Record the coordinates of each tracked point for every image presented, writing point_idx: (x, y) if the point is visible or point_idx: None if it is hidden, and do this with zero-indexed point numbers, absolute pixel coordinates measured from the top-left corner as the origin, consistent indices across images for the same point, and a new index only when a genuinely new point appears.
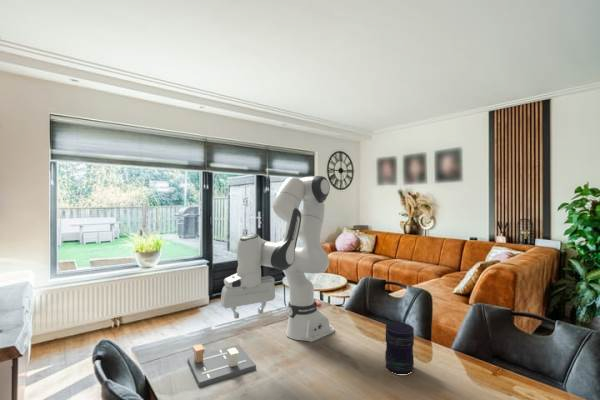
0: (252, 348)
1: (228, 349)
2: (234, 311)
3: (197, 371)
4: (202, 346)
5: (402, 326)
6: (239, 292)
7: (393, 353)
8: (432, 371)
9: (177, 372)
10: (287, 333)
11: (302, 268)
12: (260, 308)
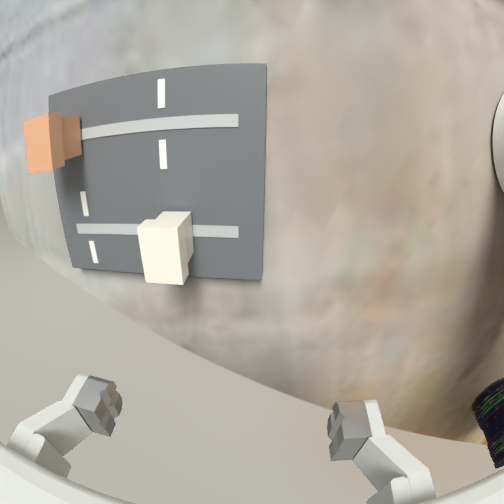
0: (326, 110)
1: (143, 232)
2: (64, 446)
3: (66, 206)
4: (49, 142)
5: None
6: None
7: (486, 430)
8: None
9: None
10: (500, 126)
11: None
12: (360, 447)
